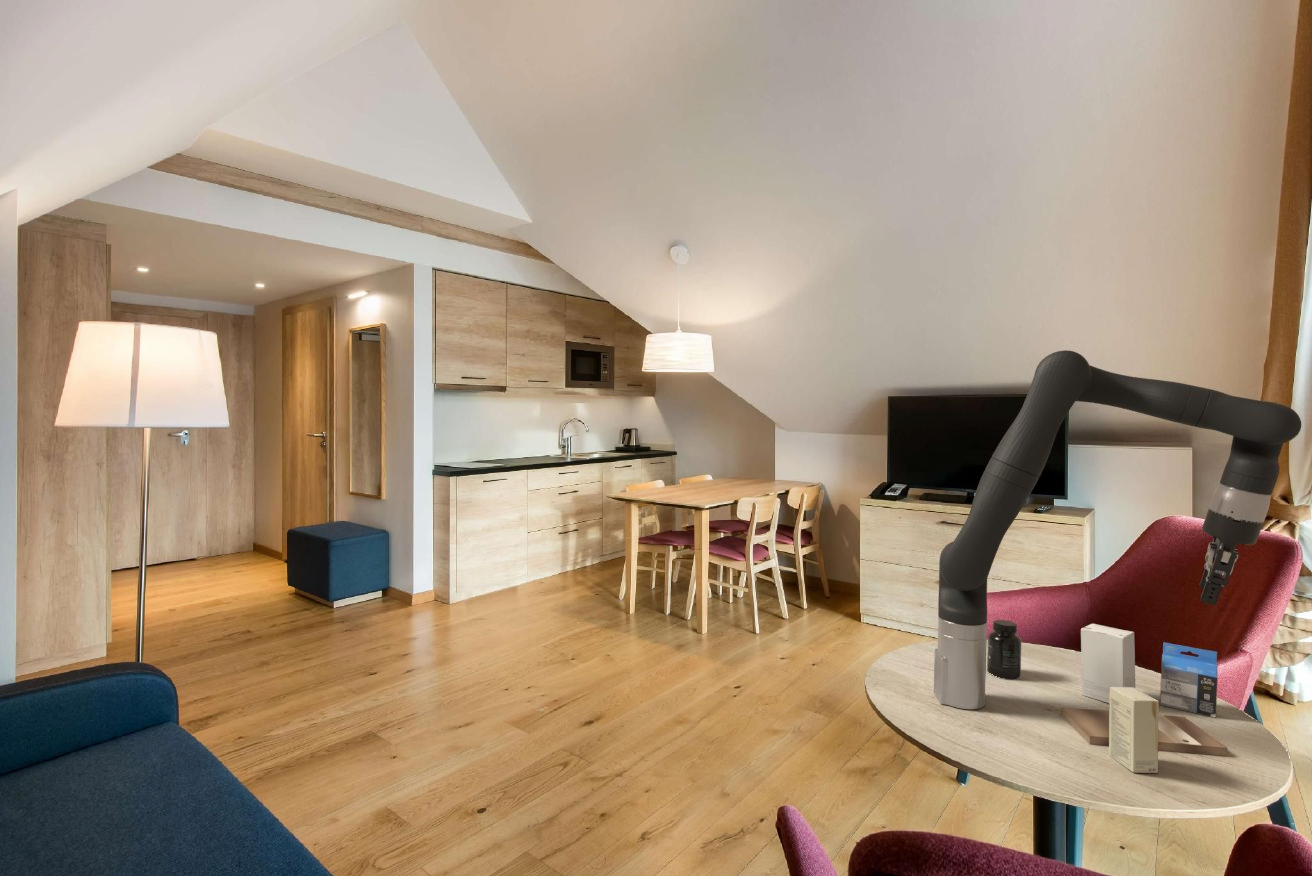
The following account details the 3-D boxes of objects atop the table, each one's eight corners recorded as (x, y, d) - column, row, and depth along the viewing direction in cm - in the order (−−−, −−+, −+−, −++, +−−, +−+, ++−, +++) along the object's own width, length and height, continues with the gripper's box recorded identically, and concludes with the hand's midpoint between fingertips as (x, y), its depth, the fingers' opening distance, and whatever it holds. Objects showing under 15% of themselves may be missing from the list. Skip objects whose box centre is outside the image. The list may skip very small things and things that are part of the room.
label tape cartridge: (1159, 705, 134) (1161, 646, 134) (1160, 699, 137) (1162, 641, 137) (1216, 718, 129) (1218, 657, 128) (1215, 711, 132) (1217, 651, 131)
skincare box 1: (1135, 702, 136) (1138, 632, 135) (1123, 709, 132) (1125, 637, 132) (1091, 688, 143) (1093, 621, 142) (1078, 694, 139) (1080, 626, 139)
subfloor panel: (1089, 744, 118) (1089, 735, 118) (1060, 714, 130) (1060, 706, 130) (1227, 756, 114) (1227, 746, 114) (1184, 724, 126) (1184, 715, 126)
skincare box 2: (1159, 774, 108) (1161, 702, 108) (1132, 773, 108) (1135, 701, 108) (1131, 754, 115) (1133, 685, 114) (1106, 753, 115) (1108, 685, 114)
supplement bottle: (983, 667, 154) (984, 617, 154) (1014, 669, 153) (1016, 619, 153) (992, 678, 148) (993, 626, 147) (1025, 681, 146) (1026, 628, 146)
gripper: (1208, 499, 123) (1181, 578, 126) (1211, 513, 112) (1181, 599, 115) (1260, 512, 118) (1230, 593, 122) (1268, 527, 107) (1236, 616, 111)
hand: (1206, 596), depth 119 cm, fingers open, 8 cm apart
